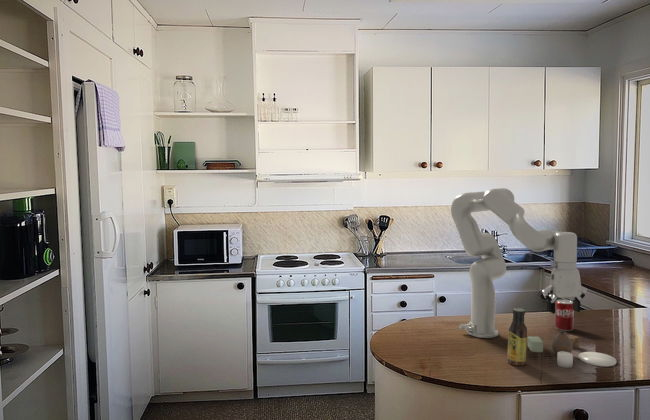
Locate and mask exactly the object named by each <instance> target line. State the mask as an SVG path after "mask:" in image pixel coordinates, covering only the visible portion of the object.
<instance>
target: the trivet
mask: <svg viewBox="0 0 650 420" xmlns="http://www.w3.org/2000/svg"><path fill="white" fill-rule="evenodd" d="M578 359H579V360H580V361H581V362H583V363H584V364H585V363H586V364H588V365H592V366H595V367H602V368H603V367H605V368H607V367H608V368H609V367H613V366H616V365H617V359H616V358H614V357H613V356H611V355H609V354H607V353H602V352H596V351H584V352H581V353H579V354H578Z"/></svg>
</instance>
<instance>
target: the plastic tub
mask: <svg viewBox="0 0 650 420" xmlns="http://www.w3.org/2000/svg"><path fill="white" fill-rule="evenodd" d="M556 357H557V358H556V360H557V361H556V364H557V366H559V367H561V368H562V367H563V368H565V369H566V368H567V369H568V368H572V367H573V366H574V363H573V362H574V361H573V360H574V355H573V353H572V352H571V353H569V352H564V351H560V352H558V353H557V356H556Z"/></svg>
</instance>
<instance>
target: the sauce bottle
mask: <svg viewBox="0 0 650 420" xmlns="http://www.w3.org/2000/svg"><path fill="white" fill-rule="evenodd" d="M525 315H526V309H524V308H521V307H515V308H513V309H512V322H511V324H510V326H509V328H508V334H507V335H508V338H507V357H506V358H507V362H508V363H509V364H511V365H513V366H524V365H526V361H527V360H526V359H527V347H528V328H527V326H526V324H525Z"/></svg>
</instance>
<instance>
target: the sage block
mask: <svg viewBox="0 0 650 420" xmlns="http://www.w3.org/2000/svg"><path fill="white" fill-rule="evenodd" d="M527 347H528V349H529V350H530V351H531V352H533V353H543V352H544V342H543V340H542V339H541V338H540V336H528V335H527Z"/></svg>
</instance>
